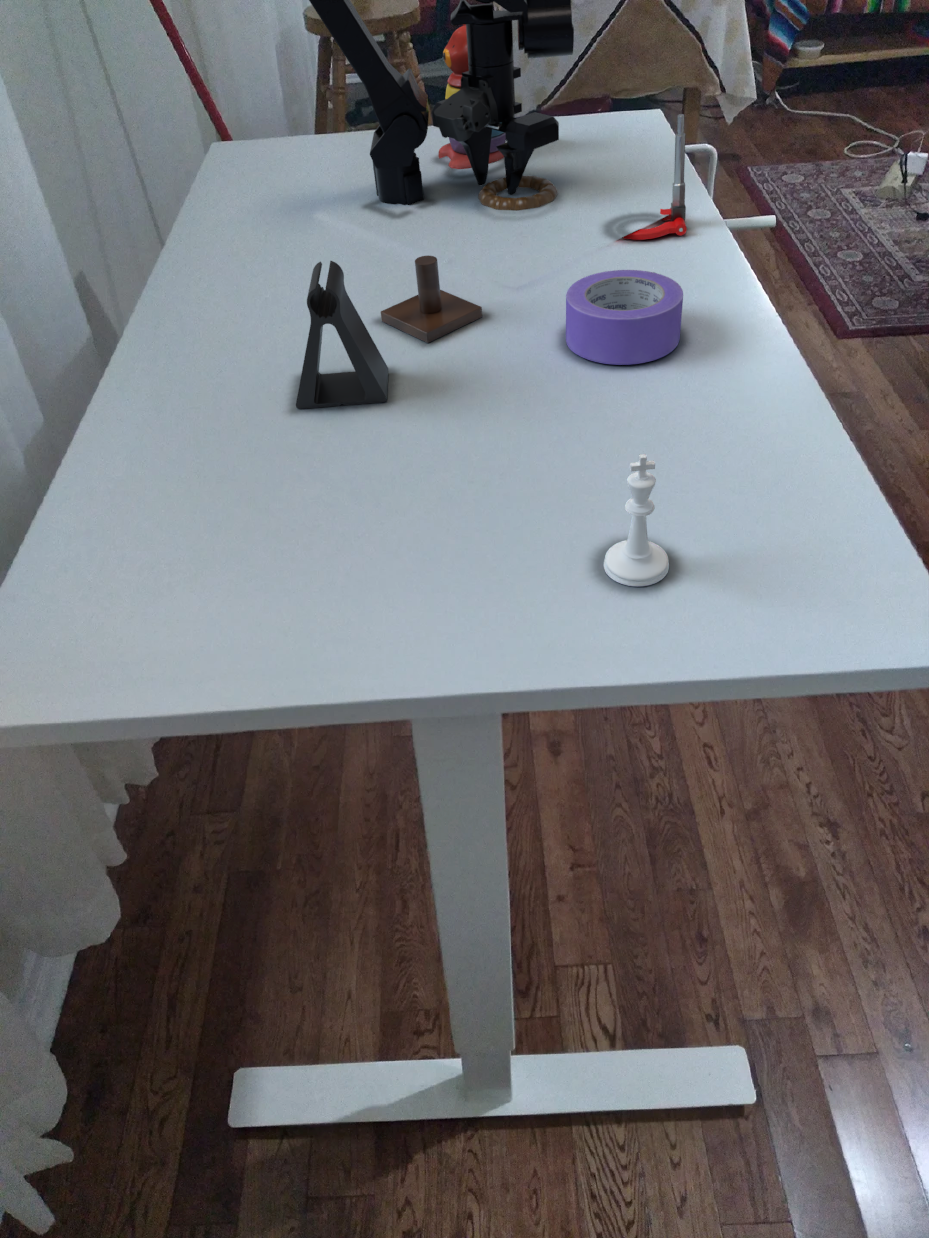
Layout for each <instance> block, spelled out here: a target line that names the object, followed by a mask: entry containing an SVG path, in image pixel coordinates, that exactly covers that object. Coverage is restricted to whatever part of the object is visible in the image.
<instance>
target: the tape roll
mask: <svg viewBox="0 0 929 1238" xmlns="http://www.w3.org/2000/svg"><path fill="white" fill-rule="evenodd" d="M683 303H684V290H683V288H682V286H681V285H680V284H679V283H678V282H677V281H676V280H674V279H673V278H671V277H669V276H666V275H663V274H661V273H656V272H653V271H648V270H640V269H614V270H606V271H601V272H596V273H593V274H590V275H586V276H584V277H582V278H580V279H578V280H576V281H575V282H573V283H571V285H570V286H569V287H568V288H567V291H566V293H565V343H566V346H567V348H568V349H569V350H570V351H571V352H572V353H574V354H575V355H577V356H579V357H580V358H583V359H585V360H587V361H591V362H595V363H600V364H605V365H615V366H616V365H618V366H621V365H622V366H623V365H626V366H627V365H628V366H629V365H638V364H644V363H648V362H652V361H656V360H659V359H661V358H663V357H666V356H667V355H669V354H671V353H672V352H673V351H674V350H675V349H676V348H677V346H678V345H679V343H680V340H681V327H682V313H683Z"/></svg>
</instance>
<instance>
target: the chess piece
mask: <svg viewBox="0 0 929 1238" xmlns="http://www.w3.org/2000/svg"><path fill="white" fill-rule="evenodd" d="M655 469H656V462H655V460H648V456H647V454H646V453H641V454H639V455H638V461H636V462H629V470H630V472H631V473H630V474H629V475H628V476H627V478H626V479H627V480H626V482H627V486H628V488H629V490H630V495H631V498H629V499H628V500H627V501H626V503H625V505H624V510H625V511H626V512H627V514H629V515H631V521H630V526H629V531H628V536H627V539H625V540H622V541H618V542H617V543H615V544H613V545H612V546H610V548H608V550H607V551H606V553H605V556H604V560H603V570H604V572H605V573H606V575H607V576H608V577H609V578H610V579H611V580H613V581H614V582H615V583H616V582H617V584H621V585H624V586H628V587H647V586H651V585H654V584H657V583H659V582H661V581H662V580H664V578H665V577H666V576H667V575H668V572H669V568H670V564H669V556H668V554H667V552H666V551H665V549H664V548H663V547H661V545H658V544H657V543H655V542H653V541H649V537H648V536H649V535H648V526H647V525H648V524H647V523H648V522H647V517H648V516H650V515H652V514H653V513H654V512H655V510H656V509H655V508H656V506H655V503H654V501H653V500H652V499H650V496H651V494H652V491H653V490H654V488H655V486H656V482H657V478H656V477H655V476H654V474H652V473H651V472H648V471H650V470H655Z"/></svg>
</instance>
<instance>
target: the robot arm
mask: <svg viewBox="0 0 929 1238" xmlns="http://www.w3.org/2000/svg"><path fill="white" fill-rule="evenodd" d="M308 1H309V3H310V4H311V6H312V7H313V9H314V10H315V12H316V13H317V15H318V16H319V19H320V20H321V21H322V23H323V25H324V27H326V29H327V30H328V32H329V34H330V35H331V37H332V38H333V40H334V41H335V43H336V44H337V46H338V47H339V49H340V50H341V52H342V54H343V55H344V57H345V58H346V60H347V61H348V63H349V65H350V66H351V67H352V69H353V71H354V72H355V74H356V75H357V77H358V78H359V80H360V82H361V83H362V84H363V86H364V88H365V90H366V92H367V95H368V98H369V101H370V104H371V107H372V109H373V112H374V115H375V117H376V120H377V122H378V125H377V128H376V129H375V130H374V132H373V136H372V141H371V145H370V151H369V156H370V158H371V160H372V161H371V162H372V167H373V168H372V169H373V176H374V184H375V192H376V196H377V197H378V200H379V201H380V202H381V203H383V204H387V205H402V206H411V205H415V204H417V203H420V202H423V201H424V200H425V197H424V187H423V176H422V171H421V166H420V157H418V156H417V153H416V151H415V150H416V149H418V148H419V147H420V146H421V145H423V144H424V141H426V138H427V136H428V131H429V117H430V116H429V115H430V114H429V113H430V112H429V106H428V94H427V92H425V91H424V90H423V89H422V88H421V87H420V86H419V83H418V82H417V80H416V77H415V75H414V72H413V71H412V69H411V68H410V67H409V68H408V69H407V70H406V71H405V72H404V73H403V74H402V73H401V72H399V71H398V70H397V69H396V68H395V67H394V66H393V65H392V64H391V63H390V61H388V58H387V57H386V56H385V53H384V52H383V51H382V49H381V47H380V46H379V45H378V43H377V41H376V39H375V38H374V36H373V35H372V33H371V31H370V30H369V29H368V27H367V25H366V24H365V22H364V20H363V19H362V17H361V16H360V13H359V12H358V11H357V9H356V7H355V6H354V4H353V2H352V1H351V0H308ZM475 1H476V2H478V3H481V4H470V3H469V2H467V0H459V3H458V5H457V6H456V8H455V9H454V10H453V11H452V12H451V13H450V24H451V25H452V26H463V25H464V24H466V34H467V50H468V67H469V71H467V72H464V73H462V77H461V89H460V90H459V91H458V92H456V93H454V94H453V95H451V96H450V97H449V98H448V99H442V100H440V101H436V102H435V105H434V106H433V108H432V109H431V117H432V126H433V127H435V128H438V130H439V131H440V134H441V137H442V138H444V139H447V138H448V139H449V138H453V139H455V140H456V141H458V142H460V143H461V144H462V146H463V148H464V150H465V152H466V154H467V156H468V159H469V162H470V164H471V167H472V168H471V169H472V172H473V176H474V177H475V180H476V182H477V185H478V186H485V185H486V184H487V178H488V172H489V166H490V164H489V155H490V145H491V136H492V129H493V130H497V131H501V132H505V134H506V142H505V143H504V144H501V145H498V146H496V147H497V149H498V150H499V151H500V152H501V153H502V154H503V156H504V158H503V160H504V161H503V162H504V172H505V177H506V185H507V189H506V190H507V194H508V195H509V196H512V195H515V194H516V193H517V190H518V189H519V187H518V186H519V183H520V181H521V178H522V176H523V175H524V173H525V172H526V171H525V170H526V168H527V166H528V164H529V162H530V160H531V157H532V155H533V153H534V151H535V150H536V149H539V148H542V147H545V146H547V145H549V144H552V143H554V142H557V141H559V140H560V123H559V121H558V120H557V119H556V117H554V116H552V115H549V114H544V113H541V112H535V111H534V112H531V113H528V114H526V115H522V116H521V117H515V115H517V114H519V113H522V112H523V104H522V102H518V101H516V95H515V92H516V91H515V80H516V79H518V78H521V77H522V68H521V67H518V66H515V63H514V34H513V32H514V31H513V21H517V25H516V26H517V44H518V45H517V47H518V51H523V52H524V53H523V54H527V55H526V56H527V60H529V59H541V58H552V57H564V56H566V57H568V56H573V54H574V47H575V44H574V43H575V28H574V27H575V26H574V24H573V15H572V14H573V13H572V0H475ZM494 3H495V4H496V5H498V6H499V7H502V8H503V9H504V10H494V5H493V4H494ZM501 122H502V123H501Z"/></svg>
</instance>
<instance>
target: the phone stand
mask: <svg viewBox="0 0 929 1238" xmlns="http://www.w3.org/2000/svg"><path fill="white" fill-rule="evenodd" d="M322 267H323V263H322V261H319V262H317V263H316V264H315V265H314V267H313V269H312V273H311V278H310V283H309V287H308V291H307V297H306V306H307V309H308V311H309V316H310V317H309V318H310V326H309V331H308V337H307V340H306V341H307V342H306V347H305V352H304V359H303V363H302V368H301V369H302V370H301V374H300V380H299V384H298V385H299V386H298V391H297V396H296V402H295V407H296V408H297V409H298V410H305V409H317V408H328V407H329V408H331V407H340V406H341V405H343V406H355V405H366V404H367V405H368V404H379V403H386V402H387V401H388V387H389V386H388V385H389V384H388V382H389V367H388V365H387V363H386V361H385V359H384V358H383V356H382V354H381V352H380V350H379V349H378V346H377V345H376V343H375V342H374V339H373V338H372V336H371V334H370V333H369V331H368V328H367V327H366V325H365V323H364V321H363V320H362V318H361V316H360V314H359V313H358V311H357V309H356V307H355V305H354V303H353V301H352V300H351V298H350V296H349V294H348V293H347V290H346V286H345V274H344V271H343V268H342V267H341V266H340V264H338V263H337V262H336V261H333V260H330V261H329V267H328V272H327V279H326V284H325V289H324V286H321V285H322V284H320V279H321V273H322ZM325 325H332V326H333V327H334V328H335V330H336V332H337V335H338V337H339V338H340V341H341V343H342V345H343V347H344V350H345V352H346V353H347V357H348V358H349V360H350V363H351V365H352V367H353V369H354V371H344V372H343V371H342V372H332V373H320V365H321V353H322V342H323V332H324V331H323V330H324V326H325Z"/></svg>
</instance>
